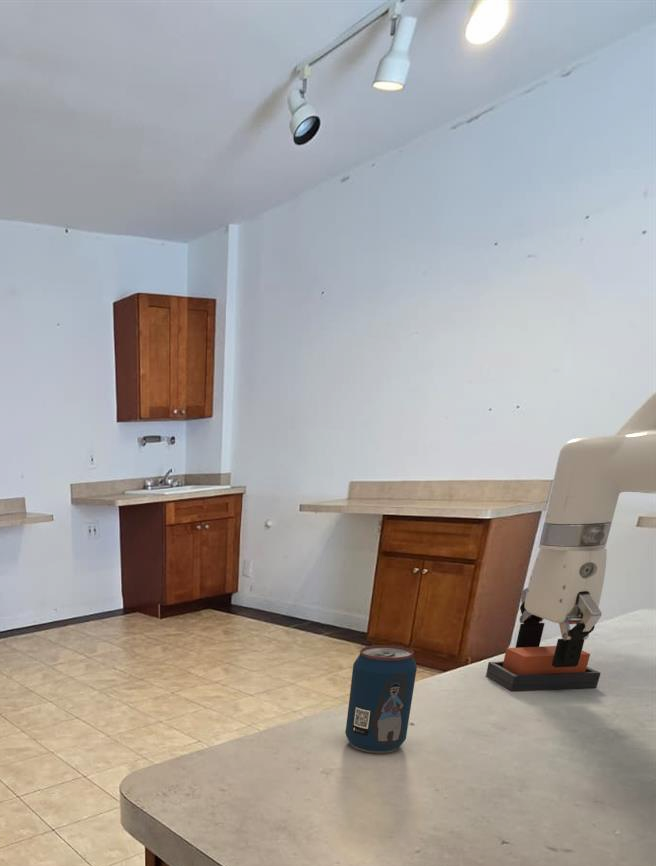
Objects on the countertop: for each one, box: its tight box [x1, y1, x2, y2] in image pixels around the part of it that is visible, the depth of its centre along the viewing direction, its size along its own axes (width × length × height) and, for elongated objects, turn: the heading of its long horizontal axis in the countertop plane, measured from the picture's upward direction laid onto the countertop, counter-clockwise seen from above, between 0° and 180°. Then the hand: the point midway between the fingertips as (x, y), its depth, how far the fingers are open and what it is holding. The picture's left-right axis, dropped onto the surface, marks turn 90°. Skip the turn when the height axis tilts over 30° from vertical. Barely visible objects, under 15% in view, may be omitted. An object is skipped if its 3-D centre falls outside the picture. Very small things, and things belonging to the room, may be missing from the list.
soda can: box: [345, 644, 418, 754], centre depth 78 cm, size 7×7×12 cm
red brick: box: [503, 645, 591, 675], centre depth 95 cm, size 9×5×4 cm, turn 85°
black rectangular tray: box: [485, 660, 602, 692], centre depth 96 cm, size 12×8×2 cm, turn 85°
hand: (544, 657), depth 95 cm, fingers open, 9 cm apart
